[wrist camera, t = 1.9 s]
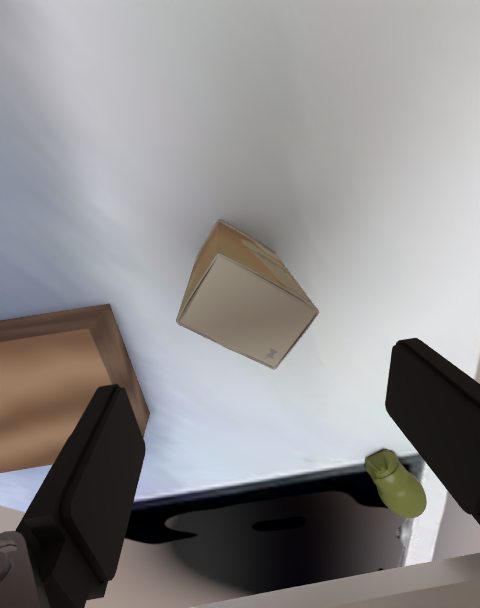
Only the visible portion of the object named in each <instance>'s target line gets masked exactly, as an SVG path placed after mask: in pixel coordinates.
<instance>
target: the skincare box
mask: <svg viewBox="0 0 480 608" xmlns="http://www.w3.org/2000/svg"><path fill="white" fill-rule="evenodd" d="M318 313H319V310H318V309H317V308H316V307H315V305H314V304H313V303H312V302H311V300H310V299H309V298H308V296H307V295H306V294H305V292H304V291H303V290H302V288H301V287H300V286H299V284H298V283H297V282H296V280H295V279H294V278H293V276H292V275H291V274H290V272H289V271H288V270H287V268H286V267H285V266H284V264H283V263H282V262H281V260H280V259H279V257H278V256H277V255H276V254H275V253H274V252H272V251H271V250H269V249H268V248H267V247H265V246H264V245H262V244H261V243H259V242H257V241H256V240H254V239H253V238H251V237H249V236H248V235H246V234H244V233H243V232H241V231H239V230H237V229H236V228H234V227H232V226H230V225H229V224H227V223H225V222H224V221H222V220H218V221H217V223H216V225H215V226H214V228H213V230H212V231H211V233H210V235H209V236H208V238H207V240H206V242H205V243H204V245H203V247H202V249H201V251H200V252H199V254H198V256H197V258H196V261H195V264H194V267H193V270H192V273H191V276H190V279H189V283H188V286H187V289H186V292H185V295H184V298H183V301H182V304H181V307H180V310H179V313H178V316H177V319H176V322H177V323H178V324H179V325H180V326H183V327H185V328H187V329H189V330H191V331H193V332H195V333H197V334H199V335H201V336H203V337H206V338H208V339H210V340H212V341H214V342H216V343H218V344H220V345H222V346H223V347H225V348H227V349H230V350H232V351H235V352H237V353H239V354H242V355H244V356H246V357H248V358H250V359H252V360H254V361H256V362H259V363H261V364H263V365H265V366H267V367H269V368H271V369H276V368H277V367H278V366H279V364H280V363H281V362H282V360H283V359H284V358H285V357H286V356H287V354H288V353H289V352H290V351H291V350H292V348H293V347H294V346H295V344H296V343H297V342H298V341H299V339H300V338H301V337H302V336H303V334H304V333H305V332H306V330H307V329H308V328H309V326H310V325H311V323H312V322H313V320H314V319H315V318H316V316H317V315H318Z"/></svg>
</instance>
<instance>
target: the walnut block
mask: <svg viewBox="0 0 480 608" xmlns="http://www.w3.org/2000/svg"><path fill="white" fill-rule="evenodd" d="M112 384H118V385H119V386H120V388H122V387H124V388H125V390H126V392H127V395H128V398H129V400H130V403H131V406H132V409H133V412H134V414H135V417H136V420H137V423H138V425H139V428H140V431H141V434H142V437H144V433H145V429H146V426H147V422H148V418H149V415H150V413H149V410H148V407H147V405H146V402H145V399H144V396H143V394H142V391H141V388H140V386H139V383H138V380H137V377H136V375H135V372H134V369H133V366H132V364H131V361H130V358H129V356H128V353H127V350H126V347H125V345H124V342H123V339H122V337H121V334H120V331H119V328H118V326H117V323H116V320H115V317H114V315H113V312H112V309H111V307H110V304H104V305H98V306H92V307H85V308H79V309H72V310H66V311H59V312H53V313H46V314H40V315H33V316H27V317H20V318H14V319H8V320H1V321H0V473H3V472H10V471H16V470H22V469H28V468H34V467H40V466H46V465H52V464H54V462H55V460H56V458H57V457H58V455H59V453H60V451H61V450H62V448H63V446H64V444H65V443H66V441H67V439H68V438H69V436H70V435H71V434H72V432H73V430H74V429H75V427H76V425H77V423H78V422H79V420H80V418H81V416H82V415H83V413H84V411H85V409H86V407H87V406H88V404H89V402H90V400H91V399H92V397H93V395H94V393H95V391H96V390H97V388H98V387H100V386H106V385H112Z"/></svg>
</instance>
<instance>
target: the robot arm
mask: <svg viewBox="0 0 480 608" xmlns="http://www.w3.org/2000/svg"><path fill="white" fill-rule="evenodd" d="M385 406H386V410H387V412H388V414H389V415H390V417H391V418H392V419H393V420H394V422H395V423H396V424H397V426H398V427H399V428H400V430H401V431H402V432H403V433H404V435H405V436H406V437H407V439H408V440H409V441H410V442H411V444H412V445H413V446H414V448H415V449H416V450H417V451H418V453H419V454H420V455H421V457H422V458H423V459H424V460H425V462H426V463H427V464H428V466H429V467H430V468H431V469H432V471H433V472H434V473H435V475H436V476H437V477H438V479H439V480H440V481H441V482H442V484H443V485H444V486H445V488H446V489H447V490H448V491H449V493H450V494H451V495H452V497H453V498H454V499H455V500H456V502H457V503H458V504H459V506H460V507H461V508H462V509H463V510H464V511H465V512H466V513H468V514H472V516H473V517H474V518H475V519H476V521H477V522H478V523H479V524H480V384H479V383H478V382H476V381H475V380H474V379H472V378H471V377H470V376H468V375H467V374H465V373H464V372H463V371H461V370H460V369H459V368H457V367H456V366H455V365H453V364H452V363H451V362H449V361H448V360H447V359H445V358H444V357H442V356H441V355H440V354H438V353H437V352H436V351H434V350H433V349H432V348H430V347H429V346H428V345H426V344H425V343H424V342H422V341H421V340H419V339H417V338H411V339H405V340H399V341H398V342H397V343H396V345H395V346H393V348H392V354H391V362H390V370H389V378H388V386H387V394H386V401H385ZM144 457H145V442H144V439H143V437H142V434H141V431H140V428H139V425H138V423H137V420H136V417H135V414H134V412H133V409H132V406H131V403H130V400H129V398H128V395H127V392H126V390H125V388H124V387H122V388H120V386H119V385H118V384H112V385H106V386H100V387H98V388H97V390H96V391H95V393H94V395H93V397H92V399H91V400H90V402H89V404H88V406H87V407H86V409H85V411H84V413H83V415H82V416H81V418H80V420H79V422H78V423H77V425H76V427H75V429H74V430H73V432H72V434H71V435H70V436H69V438H68V439H67V441H66V443H65V444H64V446H63V448H62V450H61V451H60V453H59V455H58V457H57V458H56V460H55V462H54V464H53V465H52V467H51V469H50V471H49V473H48V474H47V476H46V478H45V480H44V481H43V483H42V485H41V487H40V488H39V490H38V492H37V494H36V495H35V497H34V499H33V501H32V502H31V504H30V506H29V508H28V509H27V511H26V513H25V515H24V517H23V518H22V520H21V522H20V524H19V525H18V527H17V529H16V531H8V532H3V533H0V608H84V606H85V603H86V600H91V599H96V598H102V597H104V594H105V591H106V587H107V583H108V581H110V580H112V579H113V577H114V576H115V573H116V570H117V565H118V562H119V558H120V554H121V550H122V546H123V542H124V537H125V533H126V529H127V525H128V521H129V517H130V513H131V509H132V505H133V501H134V497H135V493H136V489H137V485H138V481H139V477H140V473H141V469H142V465H143V461H144ZM191 608H480V553H476V554H471V555H465V556H460V557H455V558H449V559H444V560H438V561H432V562H427V563H421V564H416V565H410V566H405V567H399V568H394V569H389V570H383V571H378V572H373V573H368V574H362V575H357V576H352V577H346V578H341V579H336V580H330V581H325V582H320V583H315V584H309V585H304V586H299V587H293V588H288V589H283V590H278V591H272V592H267V593H262V594H257V595H252V596H247V597H241V598H236V599H231V600H226V601H221V602H216V603H211V604H206V605H200V606H195V607H191Z"/></svg>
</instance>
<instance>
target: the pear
mask: <svg viewBox="0 0 480 608" xmlns="http://www.w3.org/2000/svg"><path fill="white" fill-rule="evenodd" d="M365 462H366V466H365V467H366V470H367V472H368V473H369V474H370V476H371V478H372V480H373V482H374V483H375V484H376V486H377V489H378V493H379V495H380V497H381V499H382V501H383V502H384V503H385V505H386V506H387V507H388V508H389V509H390V510H392V511H393V512H394V513H396V514H397V515H399V516H401V517H405V518H415V517H418V516H419V515H421V514H422V513H423V512H424V510H425V508H426V502H427V501H426V495H425V492H424V489H423V487H422V485H421V483H420V482H419V480H418V479H417V478H416V477H415V476H414V475H413V474H412V473H410V472H409V471H407V470H406V469H405V468H404V467H403V465H402V464H401V463H400V461H399V459H398V457H397V456H396V454H395V453H393V452H391V451H389V450H388V449H386V450H383V451H381V452H378V453H376V454H373V455H371V456H369V457H368V458H366V461H365Z"/></svg>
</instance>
